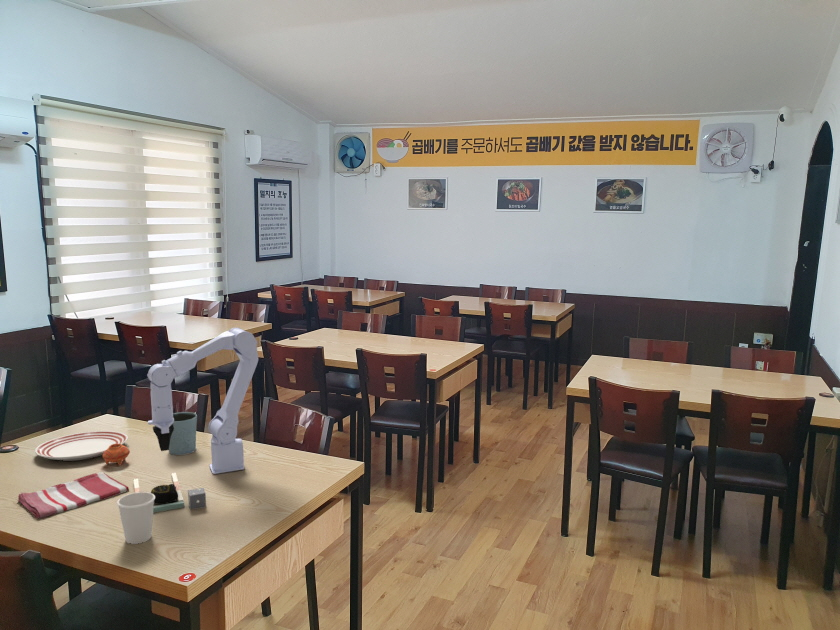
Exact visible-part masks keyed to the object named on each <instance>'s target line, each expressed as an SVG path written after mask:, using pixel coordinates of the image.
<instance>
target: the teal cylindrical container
mask: <svg viewBox="0 0 840 630" xmlns="http://www.w3.org/2000/svg"><path fill="white" fill-rule="evenodd" d="M173 418H174V422H173V423H172V424H173V427H174V431H173V433H172V435H171V439H170V445H169V450H168V453H169V454H170V455H173V456H183V455H188V454H191V453H194V452H195V451H196V450H197V448H196V447H197V443H196V442H197V424H198V415H197V413H195V412H190V411H181V412H173Z"/></svg>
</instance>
